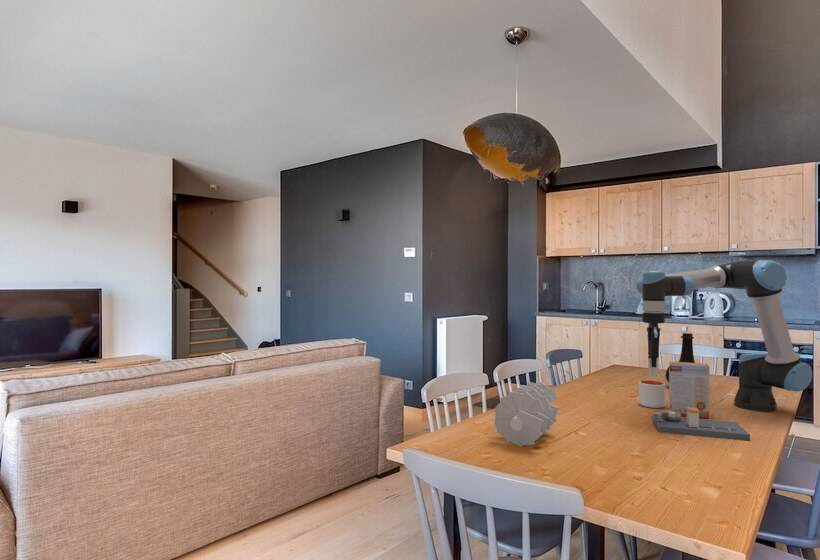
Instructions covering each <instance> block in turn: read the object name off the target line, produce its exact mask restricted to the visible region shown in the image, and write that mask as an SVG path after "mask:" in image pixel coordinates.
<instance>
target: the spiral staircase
mask: <svg viewBox="0 0 820 560" xmlns="http://www.w3.org/2000/svg"><path fill="white" fill-rule="evenodd" d="M558 399H559V396H558V394H557V392H556V390H555V388H554V387H551V388H550V387H548V385H546V384H545V383H544V382H542V381H540V382H539V383H535V382H531V381H527V384H526V385H520V387H517V389H516V390H514V391H510V392H509V391H508V392H507V395H505V396H502V397H499V401H500V402H498V404H497V405H496V406H495V408H494V409H493V411H494V413H495V414H494V415H495V416H494V425H495V427H496V432H497V433H499V434H500V435H501V437H502V438H503V439H504V440H505V441H506V443H507V444H508V443H511V444H514V445H516V446H517V447H520V448H522V447H523V446H534V445H535V441H538V440H539V438H540V437H541V436H542V435H546V434H548V431H550V430H551V426H552V425H553V424H555V423H556V422H557V421H558V418H557V417H556V416H557V414H558V410H559V407H558V406H556V405H553V404H551V402H554V401H555V400H558Z"/></svg>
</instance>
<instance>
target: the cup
mask: <svg viewBox="0 0 820 560" xmlns="http://www.w3.org/2000/svg"><path fill="white" fill-rule="evenodd" d="M665 390H666V383H664V382H662V381H656V380H648V379H647V380H646V379H645V380H640V381H639V383H638V391H639V392H638V403H639V405H641V406H642V407H645V408H650V409H662V408H664V407H665V404H666V403H665V402H666V391H665Z"/></svg>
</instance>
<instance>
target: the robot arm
mask: <svg viewBox="0 0 820 560" xmlns="http://www.w3.org/2000/svg"><path fill="white" fill-rule="evenodd" d="M665 273H666V272H665V271H663V270H645V271H643V272H642V276H641V277H639V278H638V279H637V281H636V289H637V291H638V293H640V294H641V295H642V302H641V303H640V306H642V311H643V312H642V315H641V317H642V318H641V320H642V321H641V322H642V323H643V324H644V323H645V324H648V326H647V327H646V332H647V351H648V352H647V358H648V375H649V376H650V377H654V376H655V377H658V375H659V374H658V367H659V364H658V363H659V357H660V355H659V354H660V353H659V352H660V336H661V328H660V327H659V324H664V323H665V322H666V321H665V320H666V314H665V313H664V312H666V297H685V296H687V297H688V296H689V295H691V294H693V292H694V290H698V289H699V290H700V289H705V288H713V289H735V290H745V292H746V296H747V297H748V298H749V299H751V300H752V301H753V304H754V308H755V312H756V315H757V318H758V322H759V326H760V330H761V334H762V337H763V341H764V344H765V345H764V346H765V348H766V351H767V353H755V352H754V353H752V352H751V353H750V352H749V353H741V355H739V358H738V359H739V360H738V389H737V392H736V394H735V397H734V399H733V405H734V406H736V407H738V408H741V409H744V410H745V409H746V410H749V411H757V412H775V411H777V410H778V404H777V402H776V399H775V396H774V393H773V388H777V389H781V390H786V391H789V392H790V391H791V392H802V391H805V389H807V388H808V387H809V385H810V384H811V382H812V379H813V371H812V367H811V366H810V365H809V364H807V363H806V362H802V358H801V355H800V353H797V352H796V351H795V350H794V347H793V343H792V340H791V336H790V331H789V327H788V324H787V321H786V316H785V313H784V310H783V305H782V301H781V297H780V295H781V294H782V293H783V288H784V287H785V286H786V284H787V279H788V276H787V272H786V269H785V268H784V266H782V264H780V263H779V262H778V261H775V260H772V259H771V260H770V259H769V260H768V259H755V260H737V261H736V260H735V261H731V262H727V263H726V262H725V263H723V264H717V265H711V266H710V267H709V268H706V269H704V268H703V269H697V270H690V271H689V270H688V271H680V272H673V273H666V274H665Z"/></svg>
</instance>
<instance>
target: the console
mask: <svg viewBox="0 0 820 560" xmlns="http://www.w3.org/2000/svg"><path fill="white" fill-rule="evenodd" d="M651 415H652V416H651V419H652V420H653V421H652V420H651V421H652V422H653V424H654V426H655V428H656V427H657V428H656V429H658V430H657V431H658V432H659V433H664V432H667V434H675V433H678V434H677V435H685V434H687V436H696V435H698V436H699V437H707V436H709V437H708V438H717V437H718V438H719V439H728V440H729V439H730V440H741V441H751V434H750V433H749V432H748V431H747V430H745V429H744V427H742V426H741V425H740V424H739V423H738V422H737V421H728V420H718V419H717V420H716V419H708V418H699V428H698V427H689V426H688V425H687V417H685V416H681V421H678V422H675V421H668V420H665V419H660V420H656V419H654V414H651Z"/></svg>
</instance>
